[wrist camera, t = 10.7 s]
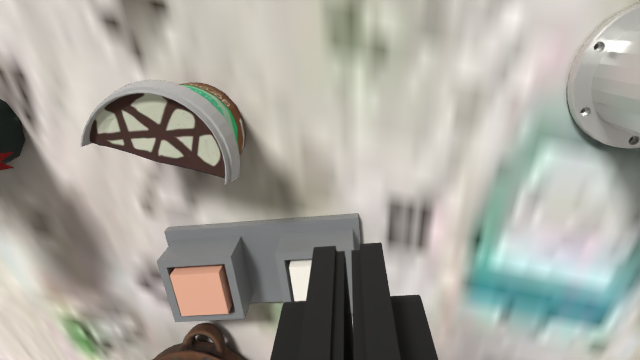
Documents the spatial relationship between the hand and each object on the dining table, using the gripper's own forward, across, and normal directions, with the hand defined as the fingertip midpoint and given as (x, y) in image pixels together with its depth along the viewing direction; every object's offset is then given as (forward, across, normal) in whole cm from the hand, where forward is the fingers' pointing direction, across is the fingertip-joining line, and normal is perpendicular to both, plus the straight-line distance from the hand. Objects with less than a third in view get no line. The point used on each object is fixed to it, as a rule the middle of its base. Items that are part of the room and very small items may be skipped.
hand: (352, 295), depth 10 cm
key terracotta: (+26, +16, +17) cm, 35 cm away
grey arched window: (+29, +14, -1) cm, 32 cm away
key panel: (+29, +10, +17) cm, 35 cm away
